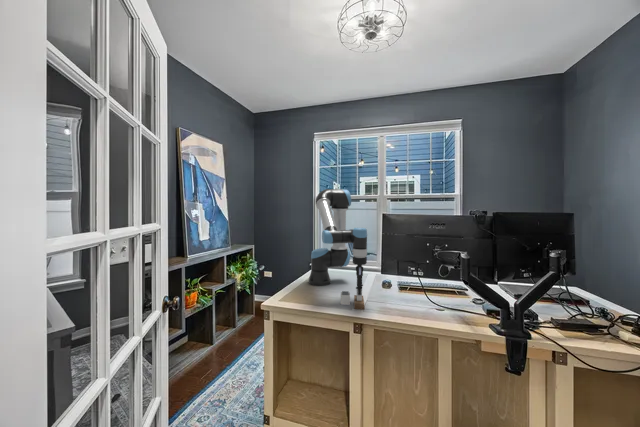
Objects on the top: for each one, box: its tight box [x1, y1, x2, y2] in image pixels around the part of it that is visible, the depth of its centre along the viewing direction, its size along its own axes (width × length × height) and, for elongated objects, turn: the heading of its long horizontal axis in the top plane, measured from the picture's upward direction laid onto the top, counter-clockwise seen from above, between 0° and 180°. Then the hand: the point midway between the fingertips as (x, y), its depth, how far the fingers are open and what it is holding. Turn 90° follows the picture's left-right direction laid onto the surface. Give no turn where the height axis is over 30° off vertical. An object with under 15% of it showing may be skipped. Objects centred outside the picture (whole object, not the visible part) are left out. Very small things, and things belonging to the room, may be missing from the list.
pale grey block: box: [340, 290, 351, 306], centre depth 148 cm, size 5×5×6 cm
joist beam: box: [353, 294, 365, 310], centre depth 146 cm, size 14×5×2 cm, turn 174°
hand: (359, 299), depth 146 cm, fingers closed on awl, 3 cm apart
